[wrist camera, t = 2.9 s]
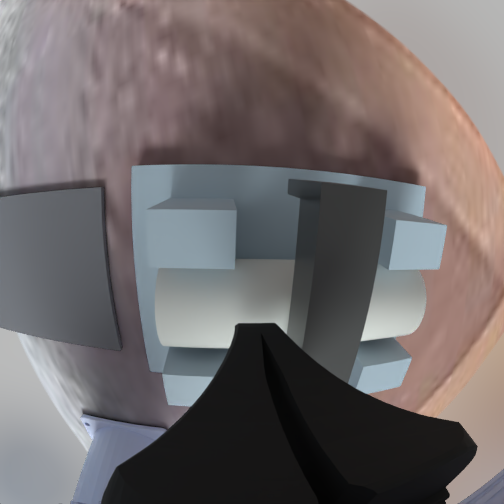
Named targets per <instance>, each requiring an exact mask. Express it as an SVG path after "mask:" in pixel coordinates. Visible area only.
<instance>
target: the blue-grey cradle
mask: <svg viewBox="0 0 504 504" xmlns="http://www.w3.org/2000/svg"><path fill="white" fill-rule="evenodd" d="M288 179H299V180H311V181H322V182H332V183H341V184H349V185H356V186H363V187H370V188H376V189H383V190H387V199H386V209H385V218H384V226H383V233H382V241H381V247H380V254H379V260H378V263H379V264H380V265H382V266H383V267H385V268H386V269H388V270H420V269H439V267H440V262H441V257H442V252H443V247H444V241H445V236H446V229H447V225H444V224H441V223H438V222H435V221H432V220H429V219H425V218H422V217H423V209H424V200H425V189H426V187H424V186H419V185H414V184H408V183H403V182H397V181H391V180H385V179H379V178H372V177H365V176H358V175H351V174H343V173H335V172H326V171H316V170H306V169H294V168H281V167H266V166H247V165H213V164H173V165H141V166H132V179H131V199H132V233H133V250H134V263H135V275H136V285H137V294H138V302H139V310H140V317H141V324H142V330H143V337H144V343H145V348H146V354H147V359H148V364H149V369H150V372H160V373H162V377H163V382H164V387H165V393H166V397H167V402H168V405H176V406H192V405H193V404H194V403H195V402H196V400H197V399H198V398H199V397H200V396H201V394H202V393H203V392H204V390H205V389H206V388H207V386H208V385H209V383H210V382H211V380H212V379H213V377H214V376H215V374H216V372H217V371H218V369H219V367H220V365H221V364H222V362H223V360H224V358H225V356H226V354H227V352H228V349H229V348H190V347H170V346H163V345H162V344H161V343H160V340H159V338H158V334H157V329H156V321H155V288H156V280H157V274H158V270H159V268H191V269H235V259H286V260H295V255H296V244H297V232H298V219H299V206H300V198H297V197H295V196H292V195H289V194H288ZM411 359H412V357H411V356H410V355H409V354H408V353H407V351H406V350H405V349H404V348H403V347H402V346H401V345H400V344H399V343H398V342H397V341H396V337H390V338H383V339H376V340H368V341H361V342H360V345H359V349H358V352H357V356H356V359H355V363H354V366H353V369H352V372H351V376H350V379H349V382H348V384H349V385H351V386H353V387H354V388H356V389H358V390H360V391H362V392H364V393H366V394H369V393H373V392H378V391H383V390H387V389H391V388H395V387H399V386H401V383H402V381H403V379H404V376H405V374H406V372H407V369H408V367H409V364H410V362H411Z"/></svg>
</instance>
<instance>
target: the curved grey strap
mask: <svg viewBox="0 0 504 504" xmlns="http://www.w3.org/2000/svg"><path fill="white" fill-rule="evenodd" d="M288 194H289V195H292V196H295V197H297V198H300V206H299V219H298V232H297V244H296V255H295V265H294V276H293V285H292V295H291V304H290V313H289V321H288V329H287V335H288V336H289V337H290V338H291V339H292V340H293V341H294V342H295V343H296V344H297V345H298V346H299V347H300V348H301V349H302V350H303V351H304V352H306V353H307V354H308V355H309V356H310V357H311V358H313V359H314V360H315V361H316V362H317V363H319V364H320V365H321V366H323V367H324V368H325V369H327V370H328V371H329V372H331V373H332V374H334V375H335V376H336V377H338V378H340V379H341V380H343V381H344V382H346V383H348V382H349V379H350V376H351V372H352V369H353V366H354V363H355V359H356V356H357V352H358V349H359V345H360V342H361V338H362V334H363V330H364V326H365V322H366V318H367V314H368V310H369V305H370V301H371V296H372V292H373V287H374V282H375V276H376V271H377V265H378V260H379V254H380V247H381V241H382V233H383V226H384V218H385V209H386V199H387V190H383V189H376V188H370V187H363V186H356V185H349V184H341V183H332V182H322V181H311V180H299V179H288Z"/></svg>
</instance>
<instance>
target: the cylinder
mask: <svg viewBox="0 0 504 504" xmlns="http://www.w3.org/2000/svg"><path fill="white" fill-rule="evenodd" d="M294 265H295V260H286V259H235V269H191V268H159V270H158V274H157V280H156V288H155V321H156V329H157V334H158V338H159V340H160V343H161V344H162V345H163V346H170V347H190V348H229V347H230V345H231V342H232V339H233V336H234V331H235V325H237V324H238V323H276V324H277V325H278V326H279V327H280V328H281V329H282V330H283V331H284V332H285V333H286V334H287V329H288V321H289V313H290V304H291V295H292V285H293V276H294ZM425 308H426V288H425V283H424V280H423V277H422V275H421V273H420V271H419V270H388V269H386V268H385V267H383V266H382V265H380V264H379V263H378V265H377V271H376V276H375V282H374V287H373V292H372V296H371V301H370V305H369V310H368V314H367V318H366V322H365V326H364V330H363V334H362V338H361V341H368V340H376V339H383V338H390V337H397V336H404V335H408V334H411V333H413V332H414V331H415V330H416V329H417V328H418V326H419V325H420V323H421V321H422V319H423V316H424V313H425Z"/></svg>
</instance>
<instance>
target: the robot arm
mask: <svg viewBox="0 0 504 504" xmlns="http://www.w3.org/2000/svg"><path fill="white" fill-rule="evenodd" d="M81 420H82V422H83V424H84V426H85V428H86V430H87V431H88V433H89V435H90V437H91V438H92V440H93V441H92V443H91V446H90V449H89V451H88V454H87V457H86V460H85V463H84V466H83V469H82V472H81V475H80V478H79V481H78V484H77V487H76V490H75V493H74V497H73V500H72V501H71V502H70V504H446V502H445V500H446V499H448V498H449V496H450V494H449V492H448V490H447V489H446V486H447V485H448V484H449V483H450V482H451V481H452V480H453V479H454V478H455V477H456V476H457V475H459V473H461V471H463V470H464V469H465V467H466V466H467V465H468V464H469V463H470V462H471V461H472V459H473V458H474V456H475V454H476V451H477V445H476V444H475V442H474V441H473V440H472V438H471V437H470V436H469V434H468V433H467V432H466V431H465V429H464V428H463V427H462V425H461V424H460V423H459V422H454V421H449V420H443V419H438V418H433V417H428V416H424V415H420V414H417V413H414V412H410V411H407V410H404V409H401V408H398V407H395V406H393V405H390V404H388V403H385V402H383V401H381V400H378V399H376V398H374V397H372V396H370V395H368V394H366V393H364V392H362V391H360V390H358V389H356V388H354V387H353V386H351V385H349V384H348V383H346V382H344V381H343V380H341V379H340V378H338V377H336V376H335V375H334V374H332V373H331V372H329V371H328V370H327V369H325V368H324V367H323V366H321V365H320V364H319V363H317V362H316V361H315V360H314V359H313V358H311V357H310V356H309V355H308V354H307V353H306V352H304V351H303V350H302V349H301V348H300V347H299V346H298V345H297V344H296V343H295V342H294V341H293V340H292V339H291V338H290V337H289V336H288V335H287V334H286V333H285V332H284V331H283V330H282V329H281V328H280V327H279V326H278V325H277V324H276V323H238V324H237V325H235V331H234V336H233V339H232V342H231V345H230V347H229V349H228V352H227V354H226V356H225V358H224V360H223V362H222V364H221V365H220V367H219V369H218V371H217V372H216V374H215V376H214V377H213V379H212V380H211V382H210V383H209V385H208V386H207V388H206V389H205V390H204V392H203V393H202V394H201V396H200V397H199V398H198V399H197V400H196V402H195V403H194V404H193V405H192V406H191V407H190V408H189V410H188V411H187V412H186V413H185V414H184V415H183V416H182V417H181V418H180V419H179V420H178V421H177V422H176V423H175V424H174V425H172V426H171V427H170V428H169V429H168V430H166V429H164V428H158V427H150V426H142V425H136V424H129V423H123V422H118V421H112V420H107V419H102V418H98V417H93V416H89V415H85V414H83V415H82V416H81ZM458 504H504V469H503V470H502V471H501V472H500V473H498V474H497V475H496V476H495V477H494V478H492V479H491V480H490V481H489V482H487V483H486V484H485V485H483V486H482V487H481V488H480V489H478V490H477V491H475V492H474V493H473V494H471V495H470V496H468V497H467V498H466V499H464V500H463V501H461V502H460V503H458Z"/></svg>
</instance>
